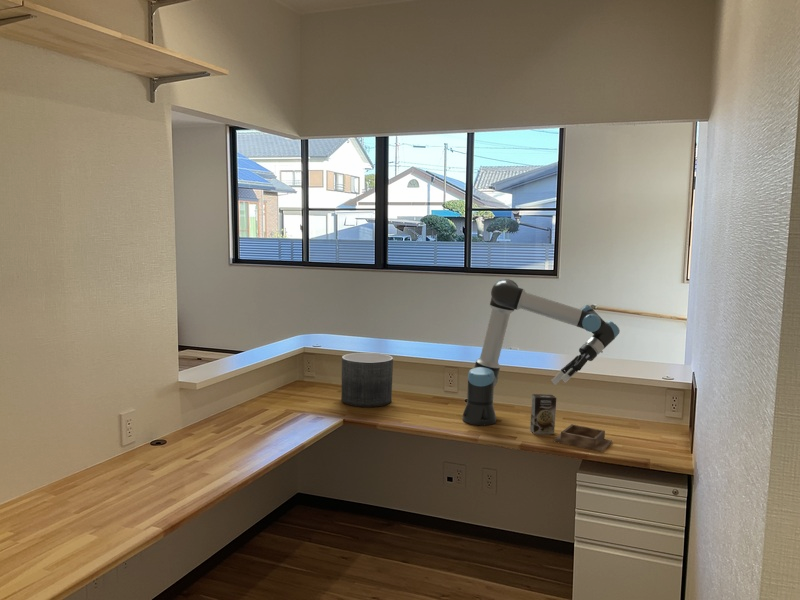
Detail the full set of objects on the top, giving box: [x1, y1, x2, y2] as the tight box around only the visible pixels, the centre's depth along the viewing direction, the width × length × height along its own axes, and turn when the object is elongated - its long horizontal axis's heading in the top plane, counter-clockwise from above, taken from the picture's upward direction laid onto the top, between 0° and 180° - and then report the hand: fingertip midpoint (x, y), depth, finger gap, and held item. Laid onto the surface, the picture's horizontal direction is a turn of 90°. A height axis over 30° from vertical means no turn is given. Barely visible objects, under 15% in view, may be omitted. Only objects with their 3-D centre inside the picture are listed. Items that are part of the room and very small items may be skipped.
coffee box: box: [529, 393, 557, 435], centre depth 260 cm, size 9×6×16 cm
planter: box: [340, 352, 394, 408], centre depth 302 cm, size 25×25×22 cm
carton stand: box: [552, 424, 613, 453], centre depth 249 cm, size 20×14×4 cm
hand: (557, 381), depth 264 cm, fingers open, 13 cm apart
